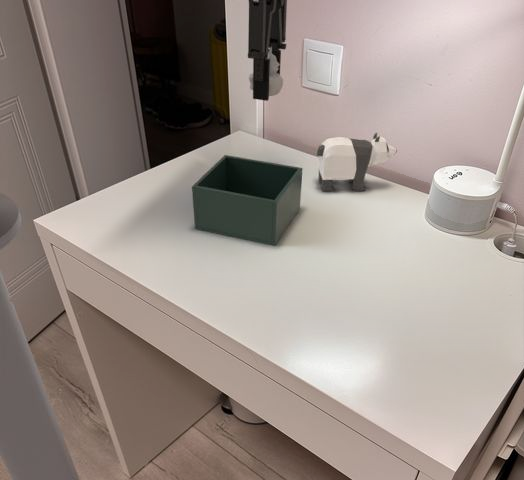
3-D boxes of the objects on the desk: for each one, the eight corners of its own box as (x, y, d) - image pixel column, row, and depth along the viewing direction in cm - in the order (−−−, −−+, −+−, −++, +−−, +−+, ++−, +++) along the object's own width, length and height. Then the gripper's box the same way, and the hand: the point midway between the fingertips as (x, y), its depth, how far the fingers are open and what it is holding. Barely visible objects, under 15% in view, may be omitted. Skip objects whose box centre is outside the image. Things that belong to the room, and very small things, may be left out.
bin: (194, 228, 89) (191, 186, 84) (226, 194, 98) (224, 154, 93) (275, 245, 86) (276, 202, 80) (299, 208, 95) (302, 167, 90)
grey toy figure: (288, 98, 96) (291, 48, 91) (255, 102, 94) (256, 51, 89) (274, 89, 100) (276, 40, 94) (242, 93, 97) (242, 44, 92)
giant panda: (316, 192, 99) (321, 141, 93) (312, 179, 103) (316, 129, 97) (393, 190, 100) (403, 139, 94) (386, 178, 104) (395, 128, 98)
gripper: (275, -62, 74) (269, 113, 89) (310, -72, 87) (300, 82, 102) (224, -65, 75) (228, 107, 91) (267, -75, 88) (263, 77, 104)
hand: (266, 93), depth 97 cm, fingers closed on grey toy figure, 5 cm apart
